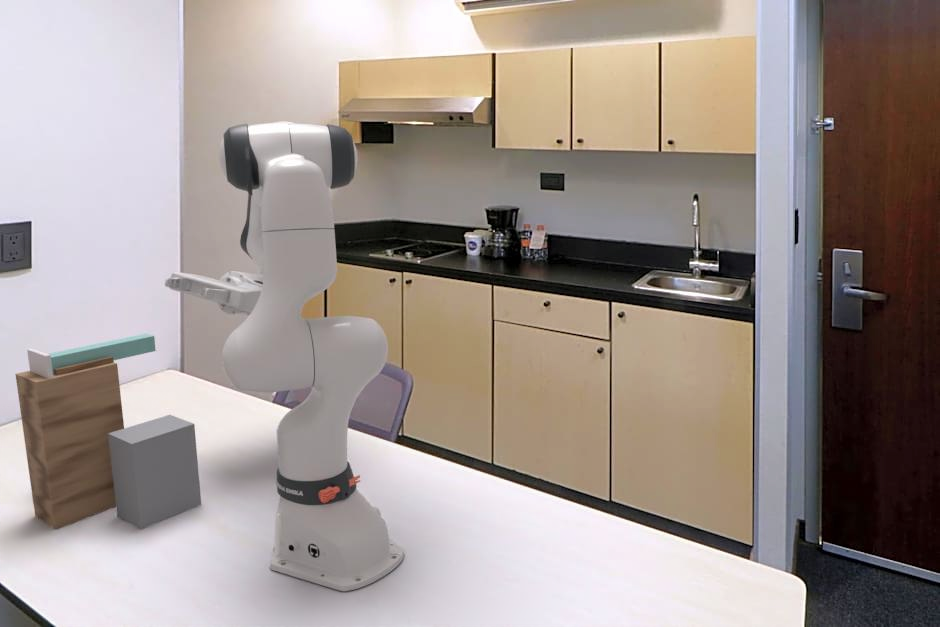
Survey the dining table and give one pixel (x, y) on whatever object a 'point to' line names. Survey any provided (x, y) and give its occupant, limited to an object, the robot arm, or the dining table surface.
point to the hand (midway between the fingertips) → (185, 287)
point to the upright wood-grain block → (71, 439)
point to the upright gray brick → (154, 470)
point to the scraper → (89, 354)
